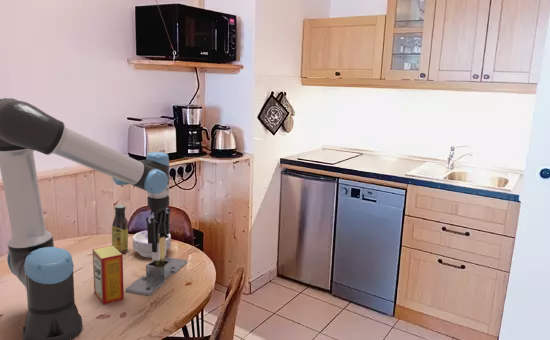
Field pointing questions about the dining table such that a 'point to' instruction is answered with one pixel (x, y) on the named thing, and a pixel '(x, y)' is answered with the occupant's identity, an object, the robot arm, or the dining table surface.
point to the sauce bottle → (120, 230)
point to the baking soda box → (108, 274)
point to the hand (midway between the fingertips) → (159, 257)
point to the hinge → (155, 276)
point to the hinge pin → (161, 252)
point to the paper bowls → (146, 244)
